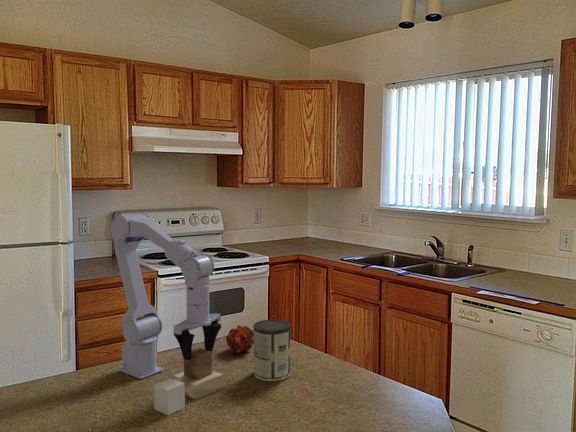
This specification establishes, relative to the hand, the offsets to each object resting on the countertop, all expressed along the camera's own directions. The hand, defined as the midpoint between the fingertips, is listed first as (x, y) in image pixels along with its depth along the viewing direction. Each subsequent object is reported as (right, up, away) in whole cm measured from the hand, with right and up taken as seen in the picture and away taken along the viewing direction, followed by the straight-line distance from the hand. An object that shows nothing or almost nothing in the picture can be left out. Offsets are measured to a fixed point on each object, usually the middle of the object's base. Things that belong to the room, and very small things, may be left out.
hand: (198, 354), depth 133 cm
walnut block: (0, -5, 0) cm, 5 cm away
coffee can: (+19, -8, +10) cm, 23 cm away
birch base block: (0, -9, +1) cm, 9 cm away
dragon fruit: (+8, -7, +28) cm, 30 cm away
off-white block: (-5, -10, -11) cm, 15 cm away
